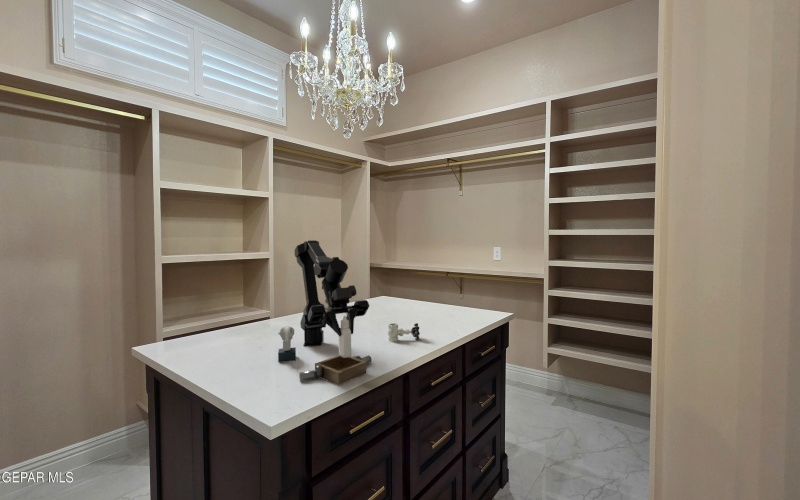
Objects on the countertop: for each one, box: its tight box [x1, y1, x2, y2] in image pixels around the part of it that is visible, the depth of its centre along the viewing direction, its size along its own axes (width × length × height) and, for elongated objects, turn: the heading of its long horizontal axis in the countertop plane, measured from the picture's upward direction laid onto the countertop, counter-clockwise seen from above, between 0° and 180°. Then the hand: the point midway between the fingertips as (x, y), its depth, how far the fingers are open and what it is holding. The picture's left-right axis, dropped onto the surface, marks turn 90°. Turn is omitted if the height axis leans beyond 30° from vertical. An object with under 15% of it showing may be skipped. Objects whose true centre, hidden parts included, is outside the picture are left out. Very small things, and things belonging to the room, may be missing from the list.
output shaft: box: [298, 365, 323, 382], centre depth 102 cm, size 6×4×4 cm, turn 114°
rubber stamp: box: [277, 325, 297, 363], centre depth 118 cm, size 6×8×11 cm
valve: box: [387, 322, 420, 343], centre depth 139 cm, size 7×7×12 cm
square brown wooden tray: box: [314, 354, 368, 386], centre depth 106 cm, size 11×11×4 cm
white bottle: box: [338, 315, 352, 358], centre depth 106 cm, size 4×6×12 cm
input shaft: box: [353, 354, 373, 365], centre depth 112 cm, size 6×4×4 cm, turn 140°
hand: (346, 334), depth 105 cm, fingers closed on white bottle, 3 cm apart
